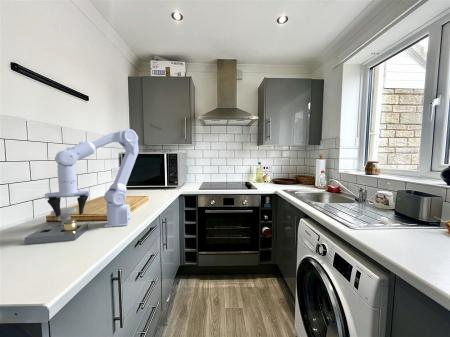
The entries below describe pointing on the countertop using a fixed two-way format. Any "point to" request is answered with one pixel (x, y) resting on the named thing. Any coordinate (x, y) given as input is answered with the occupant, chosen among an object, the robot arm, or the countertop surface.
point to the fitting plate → (55, 234)
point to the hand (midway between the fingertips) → (69, 215)
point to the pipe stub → (70, 225)
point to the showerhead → (64, 214)
